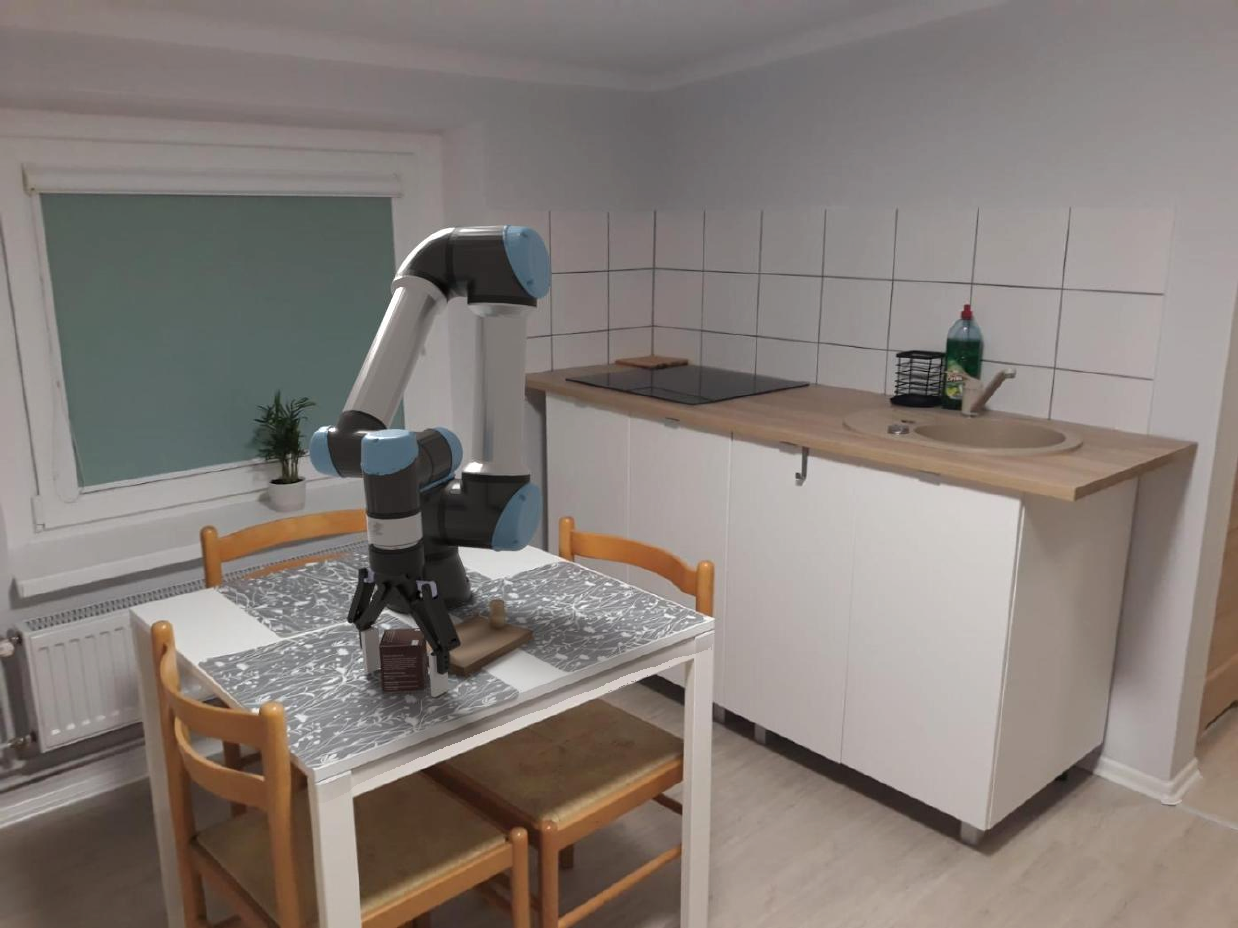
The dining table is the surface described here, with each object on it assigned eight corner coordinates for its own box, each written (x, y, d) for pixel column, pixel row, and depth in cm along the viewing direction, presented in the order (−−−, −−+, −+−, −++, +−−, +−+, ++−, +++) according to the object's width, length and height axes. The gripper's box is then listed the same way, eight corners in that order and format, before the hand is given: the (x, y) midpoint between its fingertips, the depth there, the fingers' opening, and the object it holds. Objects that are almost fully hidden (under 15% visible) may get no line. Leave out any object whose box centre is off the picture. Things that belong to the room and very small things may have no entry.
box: (387, 675, 145) (384, 628, 143) (429, 673, 145) (426, 626, 143) (381, 694, 139) (377, 646, 137) (424, 692, 139) (421, 644, 138)
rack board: (406, 658, 150) (403, 624, 149) (476, 623, 163) (474, 592, 162) (464, 676, 144) (463, 642, 142) (533, 638, 156) (532, 606, 155)
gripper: (314, 534, 141) (327, 670, 146) (442, 564, 127) (451, 714, 132) (355, 521, 147) (365, 652, 152) (481, 548, 133) (488, 692, 138)
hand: (405, 681), depth 142 cm, fingers open, 13 cm apart
